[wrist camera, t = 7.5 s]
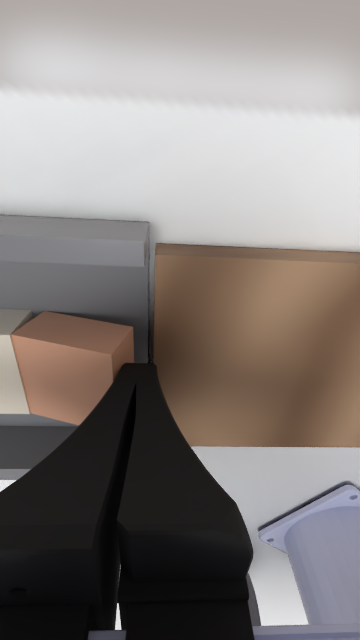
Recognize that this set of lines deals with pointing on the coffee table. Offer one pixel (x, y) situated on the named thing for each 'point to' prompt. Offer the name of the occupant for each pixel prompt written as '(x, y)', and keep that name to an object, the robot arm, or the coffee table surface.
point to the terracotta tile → (70, 363)
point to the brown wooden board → (259, 345)
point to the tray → (69, 301)
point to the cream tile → (11, 363)
